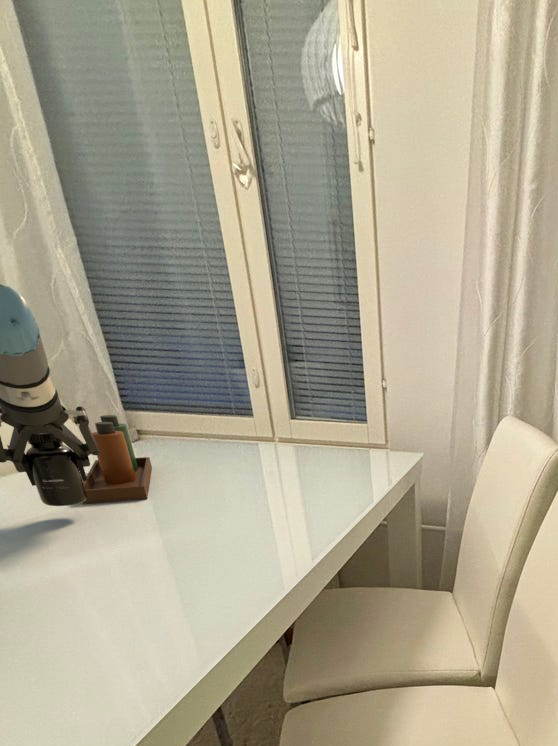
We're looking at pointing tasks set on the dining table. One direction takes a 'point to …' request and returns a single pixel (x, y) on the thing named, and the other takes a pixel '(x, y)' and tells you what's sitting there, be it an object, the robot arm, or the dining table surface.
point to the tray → (117, 485)
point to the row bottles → (115, 451)
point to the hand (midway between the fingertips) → (58, 476)
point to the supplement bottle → (55, 471)
